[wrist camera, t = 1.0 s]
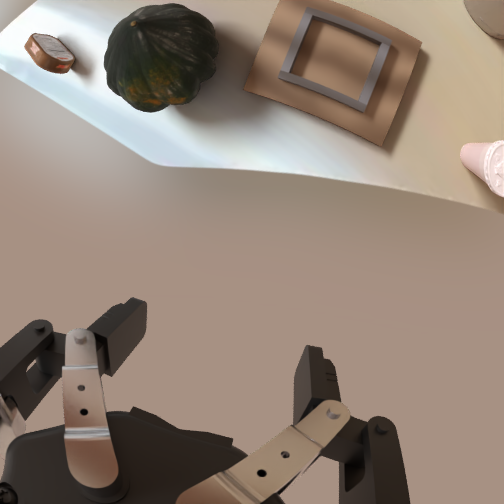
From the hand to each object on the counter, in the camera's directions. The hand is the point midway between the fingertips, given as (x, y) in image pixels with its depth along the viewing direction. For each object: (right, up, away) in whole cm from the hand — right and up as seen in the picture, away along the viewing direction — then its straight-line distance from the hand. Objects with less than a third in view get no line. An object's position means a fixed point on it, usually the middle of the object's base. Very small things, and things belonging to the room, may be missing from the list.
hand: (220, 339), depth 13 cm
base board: (+12, +28, +14) cm, 33 cm away
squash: (-8, +31, +19) cm, 37 cm away
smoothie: (+31, +17, +14) cm, 39 cm away
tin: (-34, +43, +20) cm, 58 cm away
